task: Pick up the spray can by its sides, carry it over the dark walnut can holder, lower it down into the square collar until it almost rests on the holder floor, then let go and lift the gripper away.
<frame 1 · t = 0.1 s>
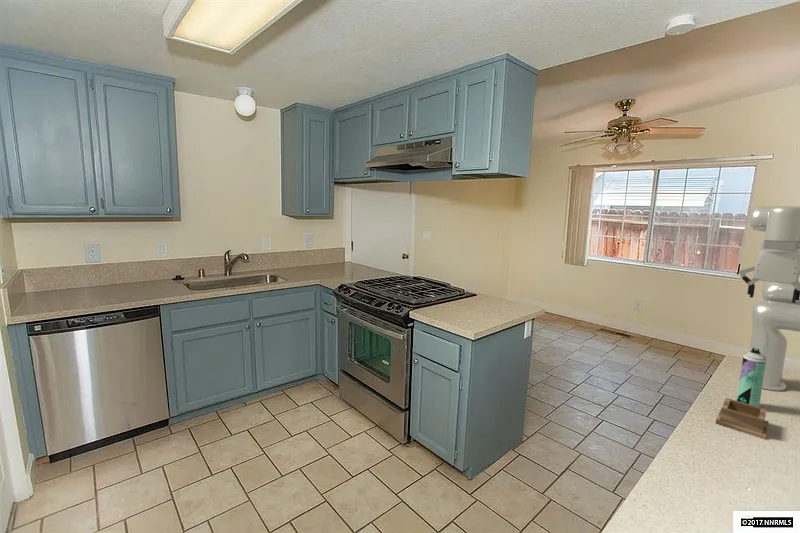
hand: (771, 299, 119), 37 cm above the countertop, tool pointing down, fingers open, 9 cm apart
can holder: (741, 423, 114), on the countertop
spray can: (747, 406, 125), on the countertop
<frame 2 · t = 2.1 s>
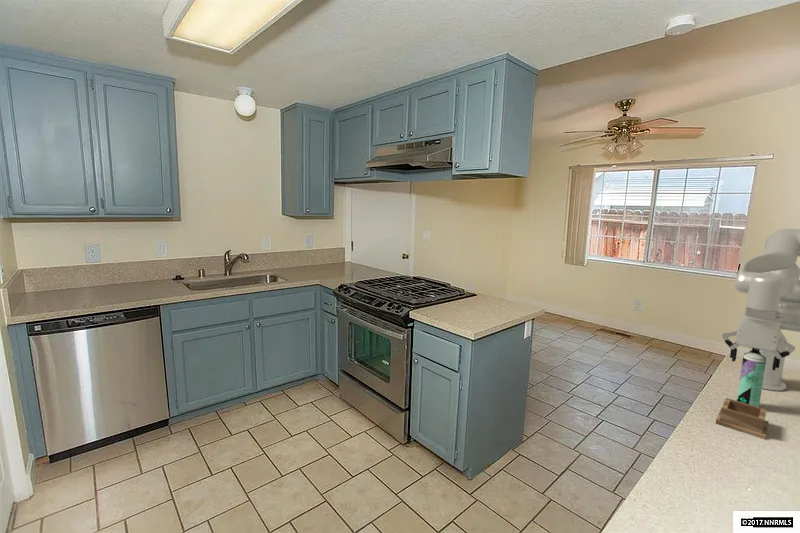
hand: (753, 364, 122), 15 cm above the countertop, tool pointing down, fingers open, 9 cm apart
nothing on the countertop moved.
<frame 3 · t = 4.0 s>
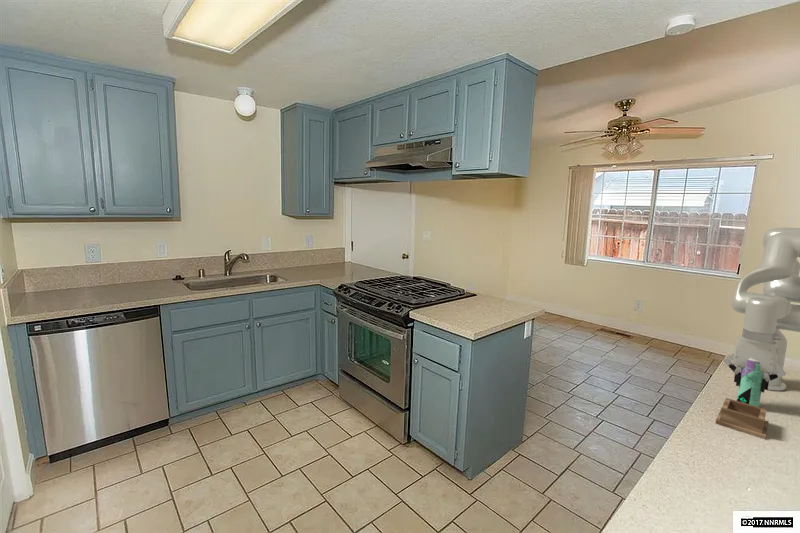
hand: (750, 387, 124), 6 cm above the countertop, tool pointing down, fingers closed on spray can, 5 cm apart
spray can: (747, 406, 125), on the countertop, touching gripper
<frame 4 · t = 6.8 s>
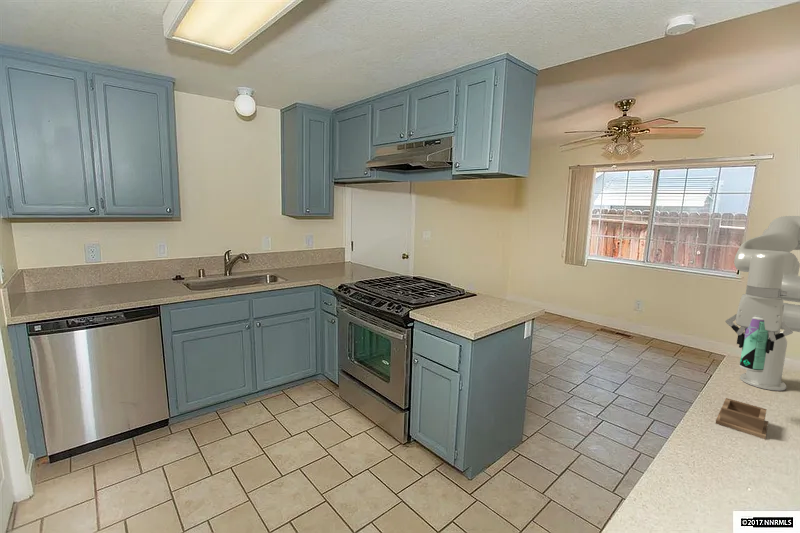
hand: (754, 349, 116), 22 cm above the countertop, tool pointing down, fingers closed on spray can, 5 cm apart
spray can: (751, 369, 117), point 15 cm above the countertop, touching gripper
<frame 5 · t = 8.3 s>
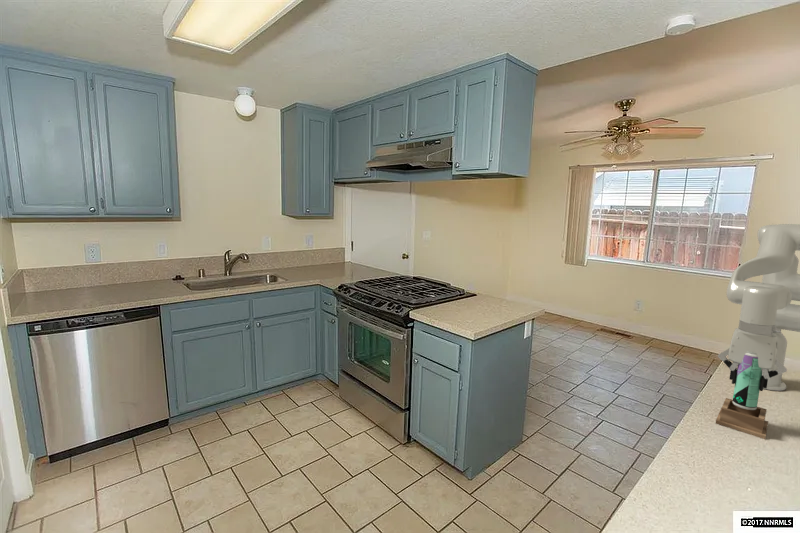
hand: (747, 385, 112), 13 cm above the countertop, tool pointing down, fingers closed on spray can, 5 cm apart
spray can: (744, 406, 113), point 6 cm above the countertop, touching gripper
when the fingers open (8 cm above the countertop, at t = 9.6 s): spray can stays where it is, resting on can holder.
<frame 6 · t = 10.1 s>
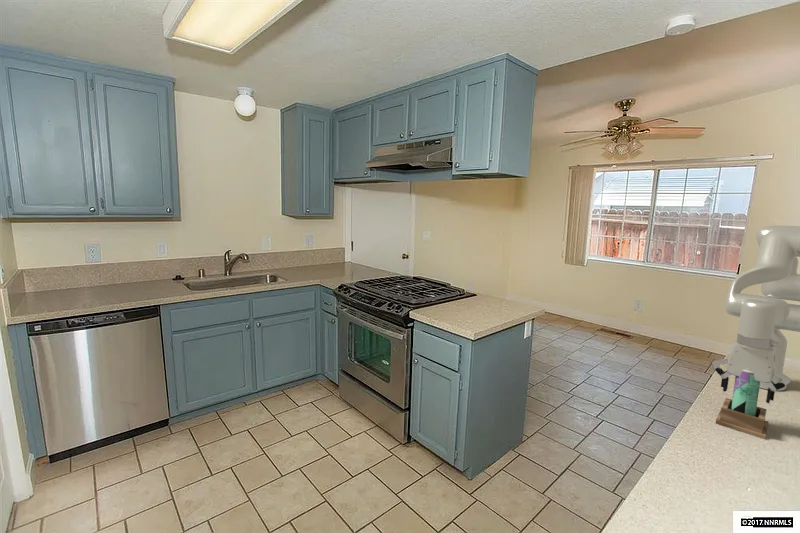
hand: (745, 395, 113), 9 cm above the countertop, tool pointing down, fingers open, 9 cm apart
spray can: (742, 421, 114), point 1 cm above the countertop, touching can holder
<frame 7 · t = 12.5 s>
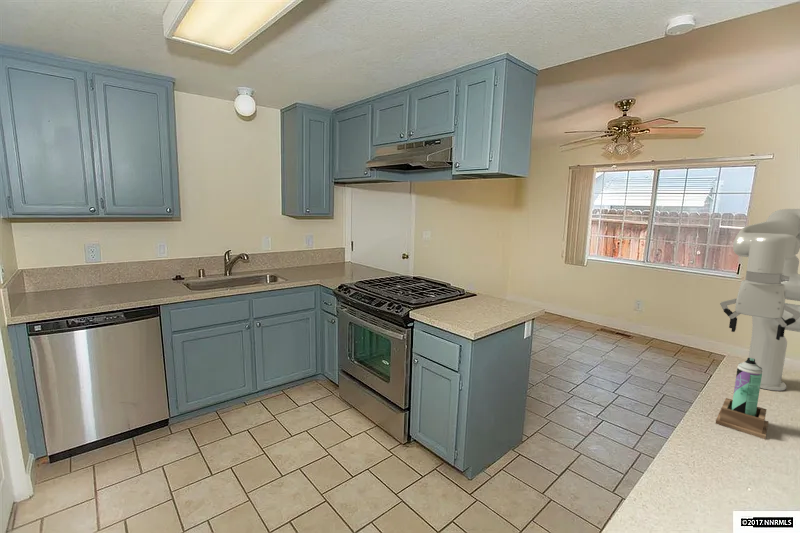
hand: (755, 334, 110), 28 cm above the countertop, tool pointing down, fingers open, 9 cm apart
nothing on the countertop moved.
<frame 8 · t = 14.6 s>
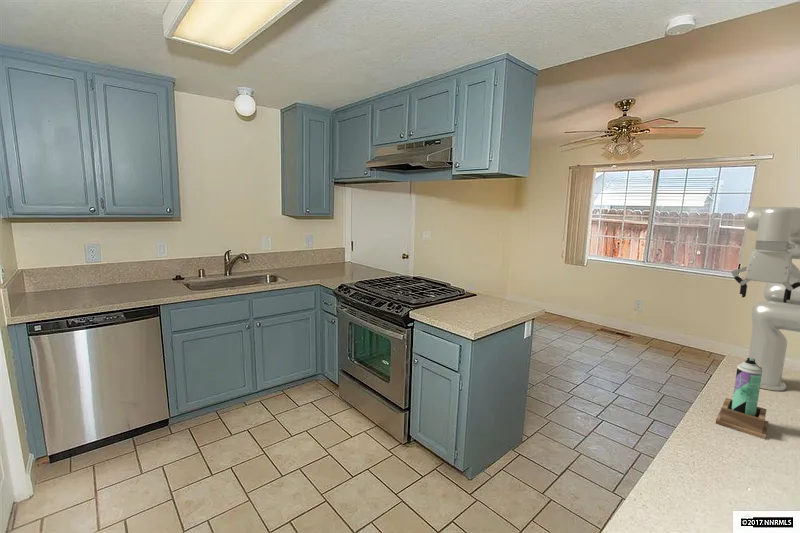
hand: (763, 299, 121), 36 cm above the countertop, tool pointing down, fingers open, 9 cm apart
nothing on the countertop moved.
at the end: spray can 0.2 cm off-centre on the can holder, point 0.8 cm above the can holder's base; spray can tilted 0°; the gripper is holding nothing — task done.
